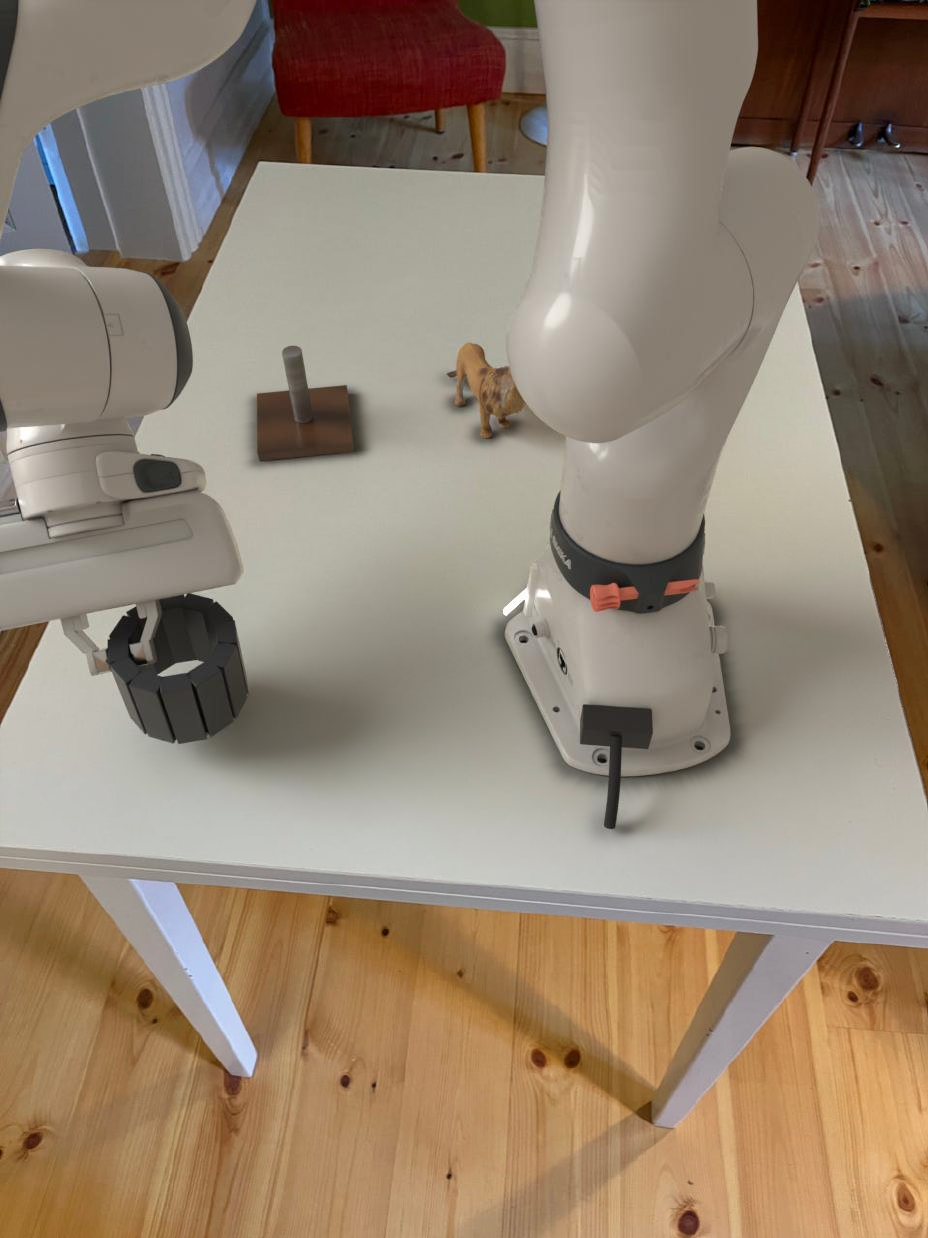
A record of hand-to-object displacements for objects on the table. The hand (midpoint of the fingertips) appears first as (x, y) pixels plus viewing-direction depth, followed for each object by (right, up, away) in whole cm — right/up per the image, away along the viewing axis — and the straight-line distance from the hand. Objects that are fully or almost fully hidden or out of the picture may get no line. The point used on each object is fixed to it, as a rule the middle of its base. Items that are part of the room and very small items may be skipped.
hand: (125, 668), depth 70 cm
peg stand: (+8, +25, +31) cm, 41 cm away
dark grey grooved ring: (+3, -2, +5) cm, 7 cm away
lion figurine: (+28, +26, +32) cm, 50 cm away
